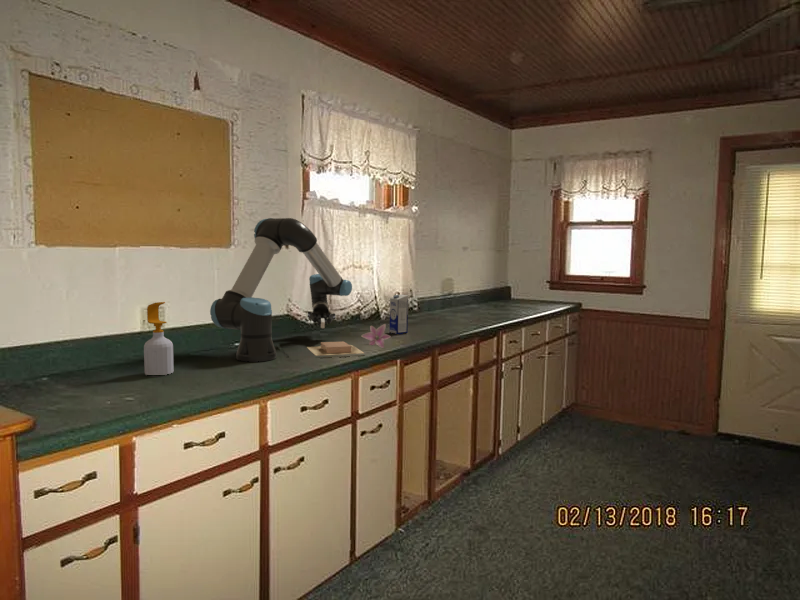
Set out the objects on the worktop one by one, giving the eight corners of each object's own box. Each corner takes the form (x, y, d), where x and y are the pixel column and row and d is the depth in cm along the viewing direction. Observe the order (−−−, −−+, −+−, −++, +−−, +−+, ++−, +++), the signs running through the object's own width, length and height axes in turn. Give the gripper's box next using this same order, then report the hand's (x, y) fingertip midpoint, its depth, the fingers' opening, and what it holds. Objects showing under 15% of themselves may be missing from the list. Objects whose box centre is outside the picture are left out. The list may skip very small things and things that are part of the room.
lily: (358, 348, 250) (358, 331, 245) (373, 335, 259) (374, 318, 253) (379, 359, 245) (380, 342, 240) (395, 345, 253) (396, 329, 248)
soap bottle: (155, 377, 184) (153, 303, 182) (139, 374, 189) (137, 302, 187) (179, 372, 192) (177, 301, 190) (162, 369, 197) (160, 300, 195)
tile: (320, 348, 235) (326, 353, 224) (320, 342, 235) (326, 347, 224) (343, 347, 239) (351, 352, 227) (343, 341, 238) (351, 346, 227)
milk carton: (407, 333, 288) (408, 295, 286) (396, 334, 284) (397, 295, 282) (400, 331, 294) (400, 294, 292) (389, 332, 290) (389, 294, 288)
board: (315, 358, 220) (315, 355, 220) (306, 349, 239) (306, 347, 239) (364, 356, 227) (364, 353, 227) (351, 347, 246) (351, 344, 245)
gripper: (333, 319, 267) (337, 334, 245) (306, 317, 265) (307, 332, 242) (335, 304, 266) (338, 318, 243) (307, 302, 263) (308, 315, 241)
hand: (322, 325), depth 243 cm, fingers closed
